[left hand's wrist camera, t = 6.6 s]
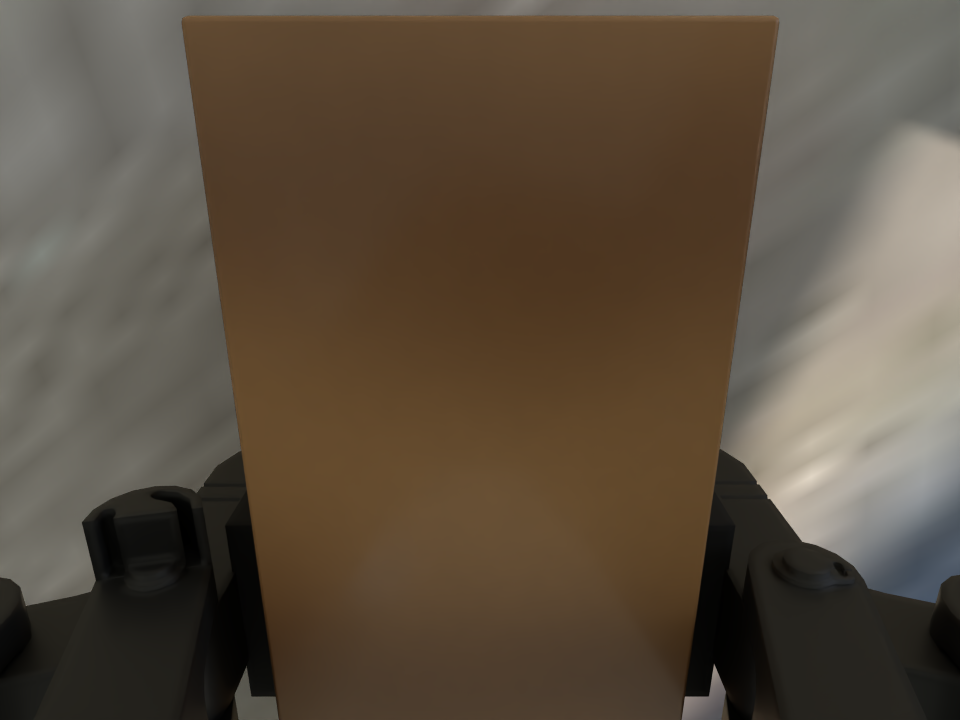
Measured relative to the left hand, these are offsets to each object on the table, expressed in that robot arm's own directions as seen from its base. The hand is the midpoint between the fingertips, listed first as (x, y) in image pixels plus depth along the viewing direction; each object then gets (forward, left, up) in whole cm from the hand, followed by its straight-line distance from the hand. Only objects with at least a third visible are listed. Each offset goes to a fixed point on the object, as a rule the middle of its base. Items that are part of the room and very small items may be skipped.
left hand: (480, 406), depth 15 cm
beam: (+15, +25, -1) cm, 29 cm away
